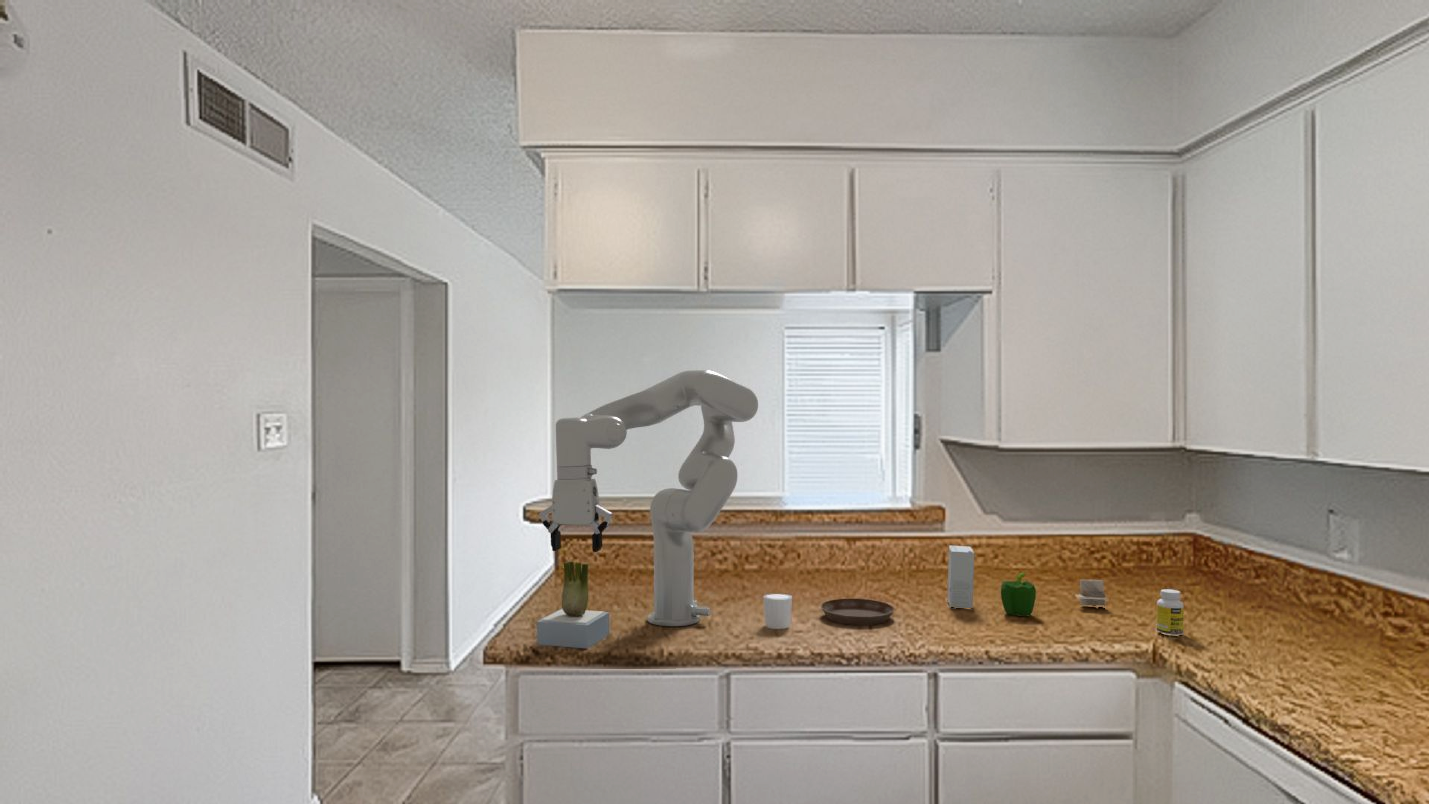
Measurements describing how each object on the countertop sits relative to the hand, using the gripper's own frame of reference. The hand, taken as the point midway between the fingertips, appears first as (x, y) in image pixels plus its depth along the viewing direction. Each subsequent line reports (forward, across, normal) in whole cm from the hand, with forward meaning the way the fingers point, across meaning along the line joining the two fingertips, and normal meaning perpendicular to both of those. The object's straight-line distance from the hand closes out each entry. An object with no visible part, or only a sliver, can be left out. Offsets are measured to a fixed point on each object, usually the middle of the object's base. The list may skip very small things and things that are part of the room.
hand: (576, 550), depth 203 cm
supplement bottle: (+24, -127, -40) cm, 135 cm away
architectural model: (+24, -114, -62) cm, 132 cm away
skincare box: (+23, -81, -56) cm, 101 cm away
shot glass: (+21, -40, -23) cm, 51 cm away
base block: (+20, +1, +1) cm, 20 cm away
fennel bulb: (+14, +1, +1) cm, 15 cm away
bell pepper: (+23, -95, -50) cm, 110 cm away
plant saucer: (+22, -57, -36) cm, 71 cm away
